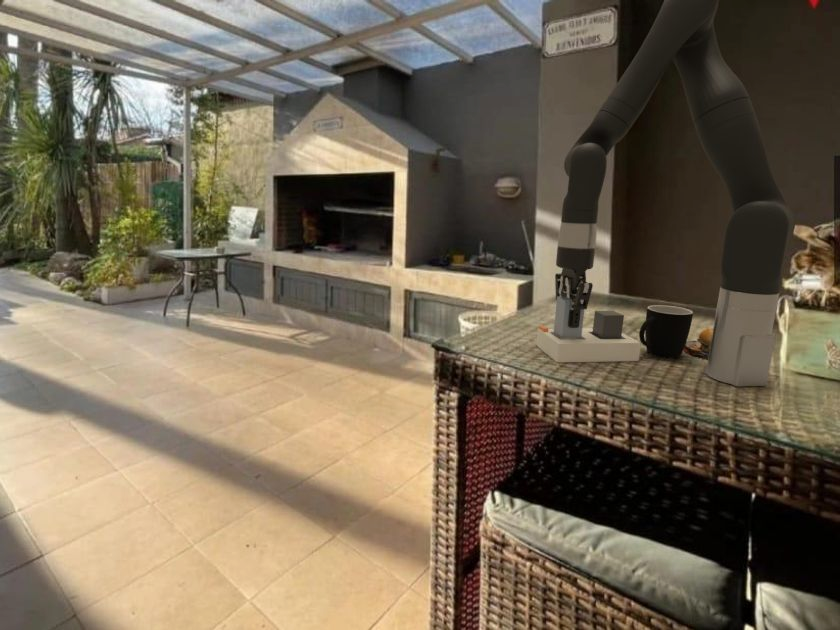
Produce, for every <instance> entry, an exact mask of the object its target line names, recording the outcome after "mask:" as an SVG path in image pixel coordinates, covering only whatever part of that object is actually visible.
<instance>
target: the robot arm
mask: <svg viewBox="0 0 840 630" xmlns="http://www.w3.org/2000/svg"><path fill="white" fill-rule="evenodd" d="M719 1H720V0H664V1H663V3H662V5H661V8H660V9H659V12H658V14H657V16H656V18H655V20H654V21H653V24H652V26H651V28H650V29H649V32H648V34H647V36H646V37H645V38H644V41H643V42H642V44H641V46H640V48H639V49H638V51H637V53H636V54H635V56H634V58H633V59H632V61H631V62H630V64H629V66H628V67H627V68H626V69H625V71H624V73H623V74H622V75H621V77H620V79H619V80H618V81H617V83H616V85H615V86H614V88H613V89H612V90H611V92H610V93H609V95H608V96H607V98H606V100H605V101H604V102H603V103H602V105H601V107H599V110H598V111H597V113H596V114H595V116H594V117H593V119H592V121H591V122H590V124H589V126H588V127H587V128H586V129H585V130H584V132H583V133H581V136H580V137H579V138H578V139H577V140H576V142H575V143H574V144H573V146H572V147H571V148H570V150H569V151H568V152H567V155H566V157H565V159H564V163H563V164H564V165H563V166H564V167H563V168H564V171H565V174H566V176H567V177H568V184H567V191H566V192H567V193H566V195H565V196H564V198H563V201H562V208H561V220H560V227H559V232H558V237H557V238H558V239H557V249H556V259H555V262H556V263H555V266H556V267H557V268H560V269H561V273H560V272H559V273H555V276H554V279H555V281H554V282H555V283H554V284H555V285H554V286H555V287H554V288H555V300H556V301H557V296H562V297H564V296H566V297H567V299H569V300H570V305H569V308H570V310H569V320H568V327H570V328H578V327H579V322H580V313H581V311H582V310H583V309H584V310H587V309H588V306H589V305H588V304H589V302H590V298H591V294H592V290H593V286H594V285H593V283H592V282H587V275H586V274H587V272H586V271H587V270H591V269H593V268H594V262H595V252H596V245H597V243H596V242H597V222H598V213H599V200H600V196H601V193H602V189H603V186H604V182H605V178H606V172H607V164H608V163H607V161H608V159H607V156H608V155H609V153H610V152H611V150H612V149H613V148H614V147H615V145H616V144H617V143H619V142H620V141H621V140H622V139H623V138H624V137H625V136H626V135H627V133H628V132H629V131H630V130H631V128H632V126H633V125H634V124H635V122H636V121H637V119H638V118H639V116H640V115H641V114H642V112H643V111H644V109H645V107H646V106H647V104H648V102H649V101H650V99H651V97H652V96H653V93H654V91H655V90H656V88H657V86H658V84H659V83H660V81H661V79H662V77H663V75H664V73H665V72H666V70H667V69H668V66H670V63H671V62H672V61H673V62H674V65H675V66H676V67H675V68H676V69H677V71H678V74H679V76H680V78H681V81H682V86H683V89H684V93H685V98H686V102H687V106H688V108H689V112H690V116H691V119H692V122H693V126H694V128H695V132H696V134H697V137H698V140H699V142H700V144H701V147H702V149H703V151H704V153H705V155H706V157H707V158H708V160H709V161H710V163H711V165H712V166H713V168H714V169H715V171H716V172H717V175H719V177H720V179H721V180H722V181H723V184H724V186H725V188H726V191H727V194H728V196H729V199H730V202H731V206H732V210H733V213H732V214H731V215H730V217H729V219H728V222H727V225H726V229H725V232H724V240H723V246H722V254H721V262H720V276H721V280H720V286H719V287H720V288H719V293H718V300H717V303H716V309H715V317H714V321H713V322H714V323H713V328H712V329H713V333H712V339H711V345H710V351H709V358H708V360H707V365H706V372H705V373H706V375H707V377H709V378H711V379H714V380H715V381H719V382H721V383H725V384H730V385H732V386H734V387H766V386H767V384H768V383H767V382H768V378H769V373H770V369H771V368H770V367H771V363H772V358H773V353H774V349H775V347H774V346H775V342H776V336H775V335H772V332H773V328H774V324H775V323H774V322H775V318H776V312H777V311H776V310H777V307H778V303H779V298H780V293H781V287H782V283H783V278H782V270H783V269H782V268H783V261H784V258H785V257H784V256H785V250H786V245H787V243H788V242H789V241H790V240H791V238H792V236H793V234H794V232H795V228H796V220H795V217H794V214H793V212H792V211H791V210H792V209H790V206H789V205H788V202H787V201H786V199H785V198H784V196H783V193H782V191H781V190H780V188H779V186H778V183H777V181H776V179H775V177H774V175H773V173H772V170H771V167H770V164H769V163H770V162H769V159H768V154H767V150H766V146H765V143H764V142H765V141H764V138H763V134H762V132H761V128H760V125H759V124H760V123H759V120H758V118H757V114H756V112H755V109H754V106H753V104H752V100H751V98H750V96H749V93H748V91H747V89H746V87H745V85H744V84H743V83H742V81H741V80H740V78H739V77H738V76H737V75H736V74H735V72H733V70H732V69H731V68H730V67H729V65H728V64H727V63H726V61H725V60H724V57H723V56H722V53H721V51H720V47H719V45H718V40H717V35H716V31H715V27H714V25H715V24H714V20H715V16H716V14H717V10H718V7H719ZM574 299H575V301H574ZM583 300H584V302H583Z"/></svg>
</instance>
